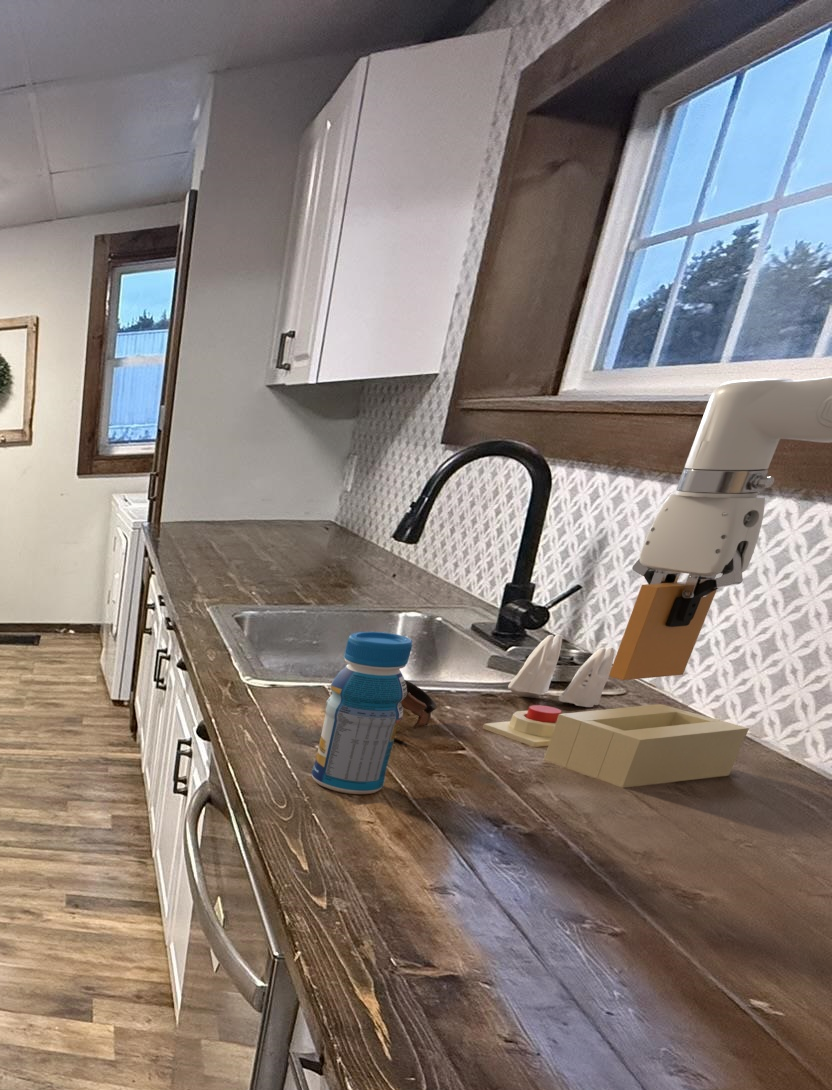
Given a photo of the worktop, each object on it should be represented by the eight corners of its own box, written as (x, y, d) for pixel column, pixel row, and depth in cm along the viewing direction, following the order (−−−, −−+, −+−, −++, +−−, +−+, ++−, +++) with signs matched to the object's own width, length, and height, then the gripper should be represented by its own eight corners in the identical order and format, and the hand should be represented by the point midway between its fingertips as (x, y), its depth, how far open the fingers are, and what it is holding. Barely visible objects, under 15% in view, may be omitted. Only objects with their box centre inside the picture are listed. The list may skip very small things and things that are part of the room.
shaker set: (504, 698, 139) (524, 634, 135) (504, 692, 142) (523, 629, 138) (599, 710, 132) (623, 643, 128) (597, 703, 135) (621, 637, 131)
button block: (537, 731, 125) (545, 706, 123) (591, 750, 118) (600, 723, 116) (479, 737, 123) (487, 712, 122) (530, 756, 116) (539, 730, 115)
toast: (667, 671, 118) (702, 580, 113) (683, 674, 117) (719, 582, 111) (608, 676, 117) (641, 584, 112) (623, 680, 115) (657, 587, 110)
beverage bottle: (343, 800, 106) (380, 648, 98) (294, 775, 113) (325, 632, 105) (399, 792, 107) (439, 642, 99) (347, 768, 115) (381, 627, 107)
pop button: (540, 715, 121) (543, 704, 120) (564, 723, 118) (568, 711, 117) (519, 717, 120) (522, 706, 120) (543, 725, 117) (546, 714, 117)
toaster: (639, 757, 114) (659, 703, 111) (727, 787, 105) (752, 728, 102) (537, 768, 112) (555, 713, 109) (618, 800, 103) (641, 740, 100)
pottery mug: (367, 712, 137) (408, 674, 131) (410, 752, 131) (454, 715, 125) (325, 706, 131) (367, 666, 126) (368, 748, 125) (413, 709, 120)
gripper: (821, 486, 100) (757, 635, 107) (674, 479, 114) (627, 610, 122) (770, 489, 99) (709, 639, 106) (629, 481, 113) (583, 613, 121)
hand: (666, 622), depth 114 cm, fingers closed on toast, 2 cm apart
